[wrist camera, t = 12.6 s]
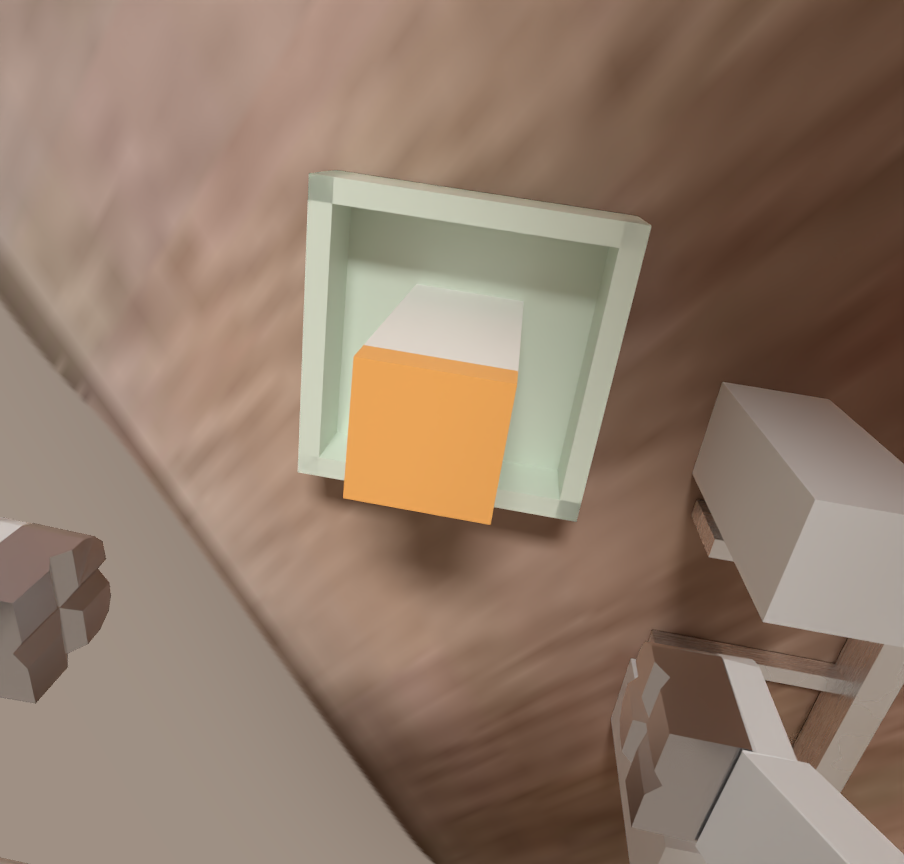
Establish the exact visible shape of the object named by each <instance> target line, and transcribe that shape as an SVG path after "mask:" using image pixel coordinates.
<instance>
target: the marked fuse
mask: <svg viewBox="0 0 904 864" xmlns="http://www.w3.org/2000/svg"><path fill="white" fill-rule="evenodd" d="M523 305H524V301H518V300H512V299H506V298H500V297H494V296H488V295H482V294H476V293H469V292H463V291H457V290H451V289H445V288H439V287H433V286H426V285H420V284H416V285H415V286H414V287H413V288H412V290H411V291H410V292H409V293H408V294H407V295H406V296H405V298H404V299H403V300H402V301H401V302H400V303H399V305H398V306H397V307H396V308H395V309H394V310H393V312H392V313H391V314H390V315H389V316H388V317H387V318H386V320H385V321H384V322H383V323H382V324H381V325H380V327H379V328H378V329H377V330H376V331H375V332H374V334H373V335H372V336H371V337H370V338H369V339H368V340H367V342H366V343H365V344H364V345H363V346H362V347H361V349H360V350H359V351H358V352H357V353H356V354H355V355H354V357H353V371H352V384H351V397H350V411H349V424H348V438H347V451H346V464H345V478H344V491H343V498H345V499H350V500H356V501H361V502H367V503H372V504H378V505H383V506H389V507H394V508H400V509H405V510H411V511H416V512H422V513H427V514H433V515H438V516H444V517H449V518H455V519H460V520H466V521H471V522H477V523H482V524H488V525H491V519H492V514H493V509H494V504H495V498H496V493H497V488H498V483H499V477H500V472H501V467H502V462H503V456H504V451H505V446H506V441H507V435H508V430H509V425H510V420H511V414H512V409H513V404H514V399H515V394H516V388H517V381H518V368H519V356H520V343H521V330H522V318H523Z"/></svg>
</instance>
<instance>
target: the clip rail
mask: <svg viewBox="0 0 904 864" xmlns="http://www.w3.org/2000/svg"><path fill="white" fill-rule="evenodd" d="M691 516H692V519H693V521H694V524H695V526H696V528H697V531H698V533H699V535H700V538H701V540H702V543H703V545H704V547H705V550H706V552H707V555H708V557H711V558H716V559H722V560H727V561H733V562H734V560H733V558H732V556H731V554H730V552H729V550H728V548H727V546H726V544H725V542H724V539H723V537H722V535H721V533H720V531H719V529H718V527H717V525H716V523H715V521H714V518H713V516H712V514H711V512H710V510H709V508H708V506H707V504H706V502H705V500H699V499H697V500H696V503H695V506H694V508H693V511H692V514H691ZM648 642H654V643H659V644H665V645H670V646H676V647H681V648H686V649H692V650H697V651H703V652H708V653H713V654H723V655H729V656H735V657H741V658H747V659H752V660H754V661H755V662H756V663H757V664H758V665H759V667H760V669H761V672H762V674H763V677H764V679H765V680H767V681H772V682H778V683H783V684H788V685H794V686H799V687H804V688H810V689H815V690H820V691H821V692H820V694H819V696H818V698H817V700H816V702H815V704H814V706H813V708H812V710H811V712H810V714H809V716H808V718H807V720H806V722H805V724H804V726H803V728H802V730H801V731H800V733H799V735H798V737H797V739H796V741H795V743H794V745H793V747H792V748H793V751H794V753H795V756H796V758H797V760H798V761H800V762H804V763H809V764H810V765H811V766H812V767H813V768H814V769H815V770H817V771H818V772H819V773H820V774H821V775H822V776H823V777H824V778H825V779H826V780H827V781H828V782H829V783H830V784H831V785H832V786H833V787H834V788H835V789H836V790H837V791H838V792H839V793H840V792H841V791H842V789H843V787H844V786H845V784H846V782H847V780H848V779H849V777H850V775H851V773H852V772H853V770H854V768H855V767H856V765H857V763H858V761H859V760H860V758H861V756H862V755H863V753H864V751H865V749H866V748H867V746H868V744H869V742H870V741H871V739H872V737H873V736H874V734H875V732H876V730H877V729H878V727H879V725H880V723H881V722H882V720H883V718H884V717H885V715H886V713H887V711H888V710H889V708H890V706H891V704H892V703H893V701H894V699H895V698H896V696H897V694H898V692H899V691H900V689H901V687H902V685H903V684H904V648H902V647H897V646H891V645H886V644H880V643H875V642H869V641H864V640H858V639H853V638H848V639H847V641H846V643H845V645H844V647H843V649H842V651H841V653H840V655H839V657H838V659H837V661H836V663H835V664H834V663H828V662H823V661H818V660H812V659H807V658H801V657H796V656H791V655H785V654H780V653H775V652H769V651H764V650H758V649H753V648H748V647H742V646H737V645H732V644H726V643H721V642H715V641H710V640H705V639H699V638H694V637H689V636H683V635H678V634H672V633H667V632H662V631H656V630H652V632H651V635H650V638H649V640H648Z"/></svg>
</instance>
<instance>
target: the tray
mask: <svg viewBox="0 0 904 864" xmlns="http://www.w3.org/2000/svg"><path fill="white" fill-rule="evenodd" d="M650 230H651V225H650V224H649V223H647V222H646V221H644V220H643V219H641V218H640V217H639V216H635V215H628V214H622V213H615V212H609V211H602V210H596V209H589V208H582V207H576V206H569V205H563V204H556V203H550V202H543V201H536V200H530V199H523V198H517V197H510V196H504V195H497V194H490V193H484V192H477V191H471V190H464V189H458V188H451V187H444V186H438V185H431V184H425V183H418V182H412V181H405V180H398V179H392V178H385V177H379V176H372V175H366V174H359V173H352V172H346V171H339V170H332V171H323V172H315V173H309V185H308V212H307V239H306V266H305V293H304V320H303V347H302V373H301V400H300V427H299V454H298V472H299V473H305V474H311V475H316V476H322V477H328V478H333V479H339V480H344V478H345V464H346V451H347V438H348V424H349V411H350V397H351V384H352V371H353V357H354V355H355V354H356V353H357V352H358V351H359V350H360V349H361V347H362V346H363V345H364V344H365V343H366V342H367V340H368V339H369V338H370V337H371V336H372V335H373V334H374V332H375V331H376V330H377V329H378V328H379V327H380V325H381V324H382V323H383V322H384V321H385V320H386V318H387V317H388V316H389V315H390V314H391V313H392V312H393V310H394V309H395V308H396V307H397V306H398V305H399V303H400V302H401V301H402V300H403V299H404V298H405V296H406V295H407V294H408V293H409V292H410V291H411V290H412V288H413V287H414V286H415V285H416V284H420V285H426V286H433V287H439V288H445V289H451V290H457V291H463V292H469V293H476V294H482V295H488V296H494V297H500V298H506V299H512V300H518V301H524V305H523V318H522V330H521V343H520V356H519V368H518V381H517V388H516V394H515V399H514V404H513V409H512V414H511V420H510V425H509V430H508V435H507V441H506V446H505V451H504V456H503V462H502V467H501V472H500V477H499V483H498V488H497V493H496V498H495V504H494V507H496V508H501V509H507V510H513V511H518V512H524V513H529V514H535V515H541V516H546V517H552V518H558V519H563V520H569V521H574V522H577V518H578V514H579V510H580V506H581V502H582V498H583V494H584V490H585V486H586V482H587V478H588V474H589V470H590V466H591V462H592V459H593V455H594V451H595V447H596V443H597V439H598V435H599V431H600V427H601V423H602V419H603V415H604V411H605V407H606V403H607V400H608V396H609V392H610V388H611V384H612V380H613V376H614V372H615V368H616V364H617V360H618V356H619V352H620V348H621V344H622V340H623V337H624V333H625V329H626V325H627V321H628V317H629V313H630V309H631V305H632V301H633V297H634V293H635V289H636V285H637V281H638V277H639V274H640V270H641V266H642V262H643V258H644V254H645V250H646V246H647V242H648V238H649V234H650Z"/></svg>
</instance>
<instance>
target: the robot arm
mask: <svg viewBox="0 0 904 864" xmlns="http://www.w3.org/2000/svg"><path fill="white" fill-rule="evenodd" d="M105 560H106V558H105V551H104V546H103V541H101V540H99V539H98V538H96V537H95V536H91V535H86V534H82V533H77V532H72V531H68V530H63V529H58V528H54V527H49V526H45V525H40V524H35V523H32V524H31V523H27V522H23V521H18V520H14V519H9V518H5V517H1V518H0V697H1V698H7V699H13V700H18V701H24V702H30V703H36V702H37V701H38V700H39V699H40V698H41V697H42V696H43V695H44V694H45V692H46V691H47V690H48V689H49V688H50V687H51V685H52V684H53V683H54V682H55V681H56V680H57V679H58V678H59V676H60V675H61V674H62V673H63V672H64V671H65V670H66V669H67V667H68V653H70V652H72V651H74V650H76V649H78V648H81V647H83V646H85V645H87V644H88V643H89V642H90V641H91V640H92V638H93V637H94V636H95V635H96V634H97V633H98V631H99V630H100V629H101V626H102V624H103V622H104V620H105V618H106V616H107V613H108V611H109V605H110V598H111V593H110V585H109V582H108V581H107V579H106V578H105V577H104V576H103V575H102V573H101V572H100V571H99V569H98V568H99V567H100V566H101V564H102V563H103V562H104V561H105ZM636 666H637V673H638V677H637V678H636V679H634V680H632V681H631V682H629V683H628V684H627V687H626V691H625V694H624V697H623V700H622V707H621V715H620V740H621V750H622V752H623V754H624V755H625V756H626V757H627V759H628V760H629V761H630V763H631V766H630V769H629V772H628V775H627V777H626V780H625V782H626V790H627V797H628V805H629V813H630V820H631V827H632V828H637V829H641V830H645V831H649V832H654V833H658V834H662V835H666V836H670V837H675V838H679V839H683V840H687V841H692V842H696V845H695V846H696V848H697V849H698V851H699V852H700V854H701V855H702V857H703V859H704V860H705V862H706V863H707V864H904V854H903V853H902V852H901V851H900V850H899V849H898V848H897V847H895V846H894V845H893V844H892V843H891V842H890V841H889V840H888V839H887V838H886V837H885V836H884V835H883V834H882V833H881V832H880V831H879V830H878V829H877V828H876V827H875V826H874V825H873V824H872V823H871V822H870V821H868V820H867V819H866V818H865V817H864V816H863V815H862V814H861V813H860V812H859V811H858V810H857V809H856V808H855V807H854V806H853V805H852V804H851V803H850V802H849V801H848V800H847V799H846V798H845V797H844V796H843V795H841V794H840V793H839V792H838V791H837V790H836V789H835V788H834V787H833V786H832V785H831V784H830V783H829V782H828V781H827V780H826V779H825V778H824V777H823V776H822V775H821V774H820V773H819V772H818V771H817V770H815V769H814V768H813V767H812V766H811V765H810V764H809V763H804V762H800V761H798V760H797V758H796V756H795V753H794V751H793V748H792V746H791V743H790V741H789V738H788V736H787V733H786V731H785V728H784V726H783V724H782V721H781V719H780V716H779V714H778V711H777V709H776V706H775V704H774V701H773V699H772V697H771V694H770V692H769V689H768V687H767V684H766V682H765V679H764V677H763V674H762V672H761V669H760V667H759V665H758V664H757V663H756V662H755V661H754V660H752V659H747V658H741V657H735V656H729V655H723V654H713V653H708V652H703V651H697V650H692V649H686V648H681V647H676V646H670V645H665V644H659V643H654V642H648V641H645V642H644V644H643V645H642V646H641V648H640V650H639V653H638V656H637V659H636ZM0 864H28V863H23V862H19V861H14V860H10V859H6V858H1V857H0Z"/></svg>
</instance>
